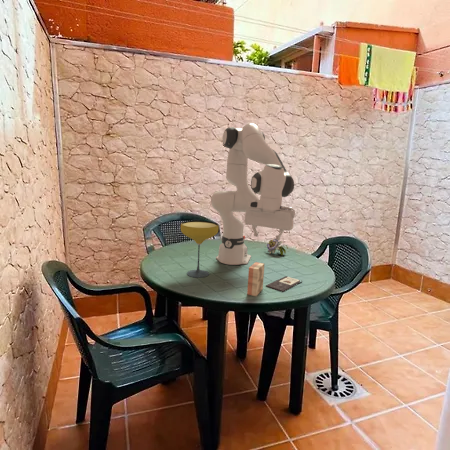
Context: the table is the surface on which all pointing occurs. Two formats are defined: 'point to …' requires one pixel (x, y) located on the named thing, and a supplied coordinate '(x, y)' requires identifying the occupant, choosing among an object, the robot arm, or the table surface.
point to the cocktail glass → (199, 238)
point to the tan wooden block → (255, 279)
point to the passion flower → (275, 246)
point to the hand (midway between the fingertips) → (266, 238)
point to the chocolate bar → (283, 283)
